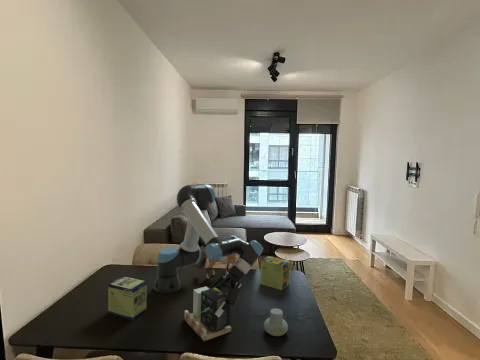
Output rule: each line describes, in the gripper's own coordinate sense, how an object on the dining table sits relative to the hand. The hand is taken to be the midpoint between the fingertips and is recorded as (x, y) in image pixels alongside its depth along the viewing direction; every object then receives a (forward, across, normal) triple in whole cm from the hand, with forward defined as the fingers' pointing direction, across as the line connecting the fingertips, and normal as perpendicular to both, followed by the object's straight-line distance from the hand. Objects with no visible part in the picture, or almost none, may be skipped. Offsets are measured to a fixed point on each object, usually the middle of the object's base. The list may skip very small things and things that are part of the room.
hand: (210, 309), depth 136 cm
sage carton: (+4, -13, +8) cm, 16 cm away
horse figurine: (-19, -54, +34) cm, 67 cm away
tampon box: (+3, 0, +7) cm, 8 cm away
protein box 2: (-34, -24, +50) cm, 65 cm away
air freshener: (-11, +16, +26) cm, 32 cm away
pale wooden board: (+6, -5, +9) cm, 12 cm away
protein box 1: (+27, -37, -11) cm, 47 cm away
